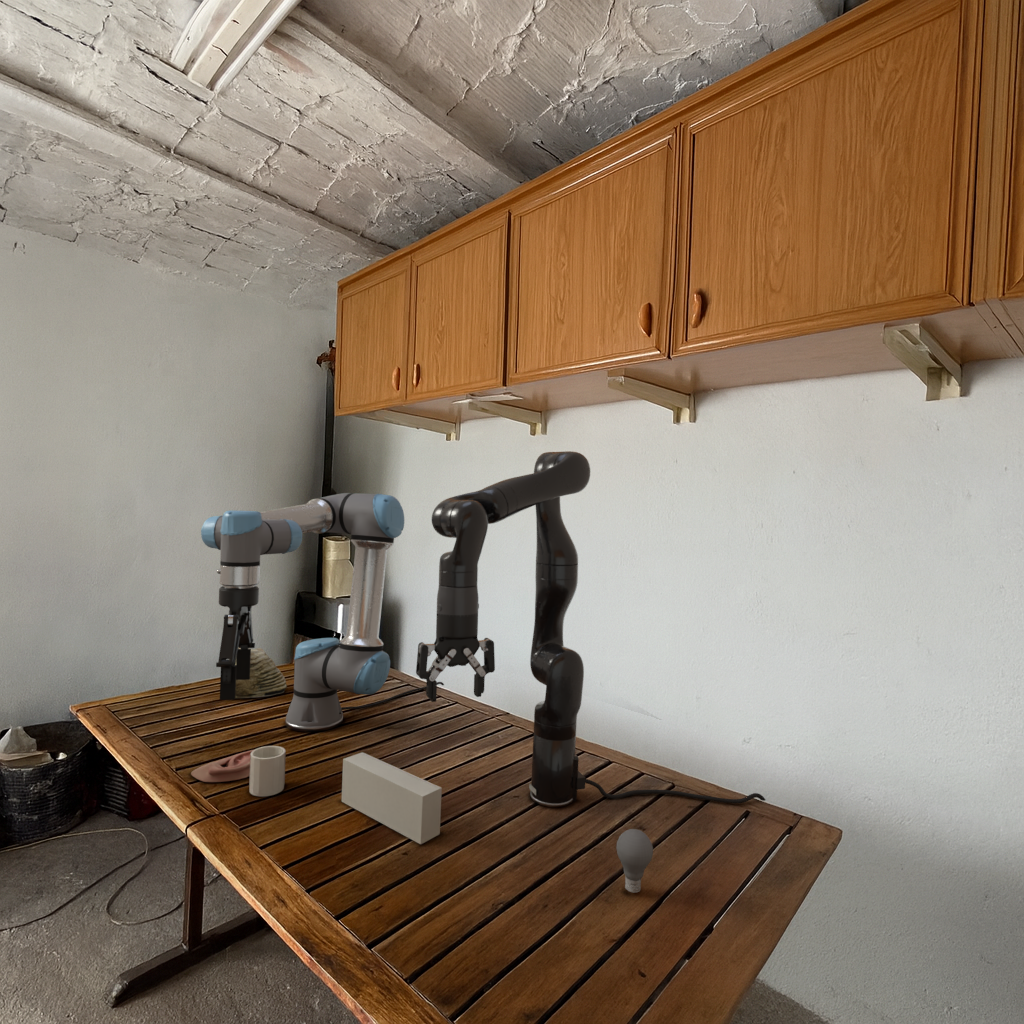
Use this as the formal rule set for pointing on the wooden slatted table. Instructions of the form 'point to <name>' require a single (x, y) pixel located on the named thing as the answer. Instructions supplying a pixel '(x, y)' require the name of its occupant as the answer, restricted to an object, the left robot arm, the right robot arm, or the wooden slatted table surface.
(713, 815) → the wooden slatted table surface
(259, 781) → the white cup
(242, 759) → the anatomical model
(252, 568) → the left robot arm
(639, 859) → the light bulb
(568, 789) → the right robot arm
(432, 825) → the grey bar
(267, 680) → the fossil
